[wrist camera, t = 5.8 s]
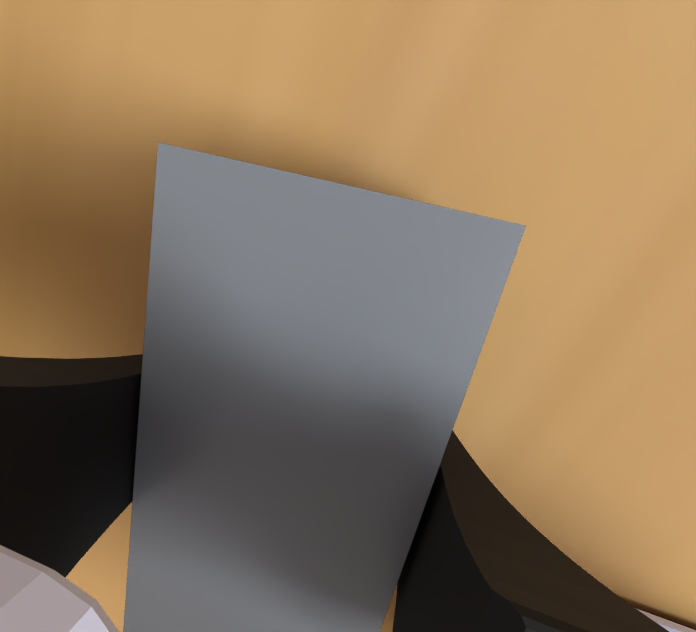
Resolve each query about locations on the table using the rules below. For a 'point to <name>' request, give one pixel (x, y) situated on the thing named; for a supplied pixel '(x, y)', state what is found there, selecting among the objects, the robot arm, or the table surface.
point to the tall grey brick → (295, 392)
